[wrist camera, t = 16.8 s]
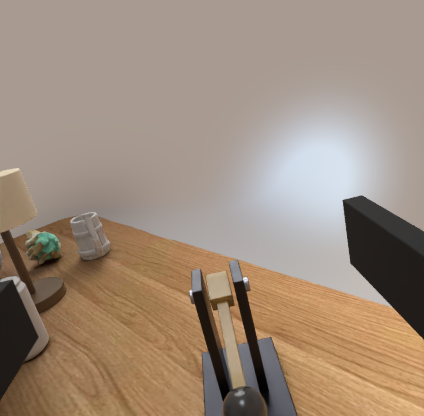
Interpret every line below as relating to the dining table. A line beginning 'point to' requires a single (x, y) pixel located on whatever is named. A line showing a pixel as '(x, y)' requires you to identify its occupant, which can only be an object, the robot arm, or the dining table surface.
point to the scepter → (42, 246)
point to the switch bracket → (249, 353)
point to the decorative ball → (0, 259)
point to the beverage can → (31, 317)
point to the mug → (90, 236)
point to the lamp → (4, 221)
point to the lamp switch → (233, 352)
